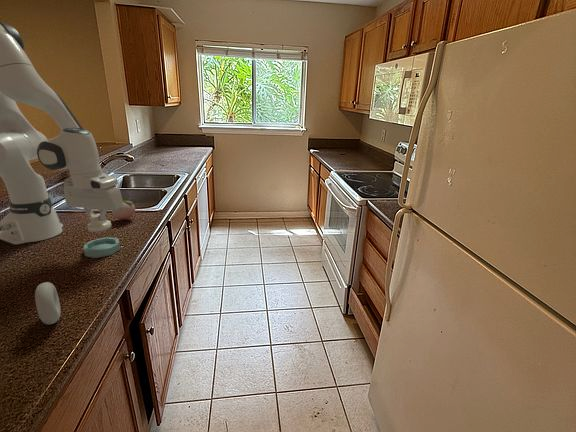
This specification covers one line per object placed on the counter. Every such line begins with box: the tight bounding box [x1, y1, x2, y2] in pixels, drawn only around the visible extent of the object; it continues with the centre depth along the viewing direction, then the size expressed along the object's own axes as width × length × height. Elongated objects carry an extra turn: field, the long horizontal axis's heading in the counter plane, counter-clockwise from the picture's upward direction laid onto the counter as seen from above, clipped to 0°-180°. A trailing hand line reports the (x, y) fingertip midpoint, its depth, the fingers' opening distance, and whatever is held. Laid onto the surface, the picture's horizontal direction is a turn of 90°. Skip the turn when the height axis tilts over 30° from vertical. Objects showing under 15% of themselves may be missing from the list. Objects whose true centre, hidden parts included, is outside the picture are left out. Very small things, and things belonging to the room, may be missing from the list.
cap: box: [86, 212, 112, 233], centre depth 107 cm, size 7×7×4 cm
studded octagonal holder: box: [83, 236, 121, 259], centre depth 110 cm, size 11×11×2 cm
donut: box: [34, 281, 62, 326], centre depth 74 cm, size 10×4×10 cm, turn 32°
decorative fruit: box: [111, 200, 136, 221], centre depth 135 cm, size 9×8×10 cm
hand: (98, 220), depth 106 cm, fingers closed on cap, 2 cm apart
